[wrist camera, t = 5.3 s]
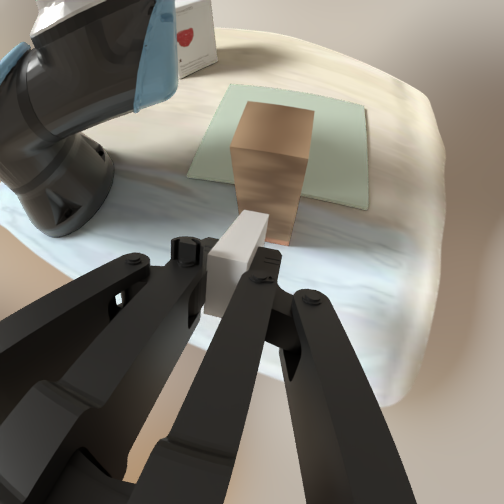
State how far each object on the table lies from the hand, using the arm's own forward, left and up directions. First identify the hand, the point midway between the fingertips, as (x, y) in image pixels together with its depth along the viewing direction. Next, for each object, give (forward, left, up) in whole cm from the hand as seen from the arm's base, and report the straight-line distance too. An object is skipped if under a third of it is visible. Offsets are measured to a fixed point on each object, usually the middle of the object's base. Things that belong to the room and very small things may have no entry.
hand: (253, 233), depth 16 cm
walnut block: (0, +7, -12) cm, 14 cm away
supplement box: (-22, +39, -12) cm, 47 cm away
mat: (0, +21, -12) cm, 25 cm away
